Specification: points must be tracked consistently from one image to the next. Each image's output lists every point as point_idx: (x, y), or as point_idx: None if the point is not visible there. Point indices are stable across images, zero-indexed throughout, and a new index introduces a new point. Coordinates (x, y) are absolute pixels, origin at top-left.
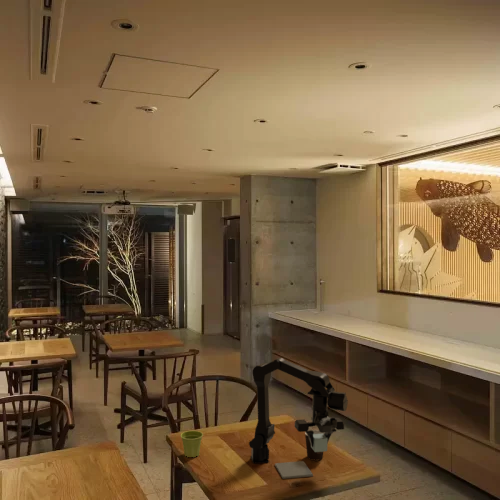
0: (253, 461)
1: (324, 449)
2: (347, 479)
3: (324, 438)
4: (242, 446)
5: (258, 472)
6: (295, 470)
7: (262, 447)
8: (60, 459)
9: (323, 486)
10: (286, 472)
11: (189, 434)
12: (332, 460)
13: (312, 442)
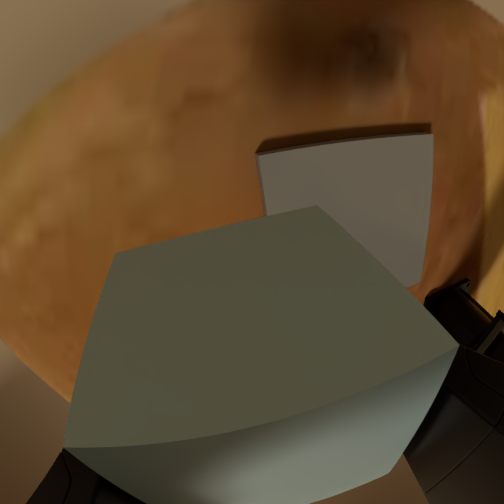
0: (468, 288)
1: (157, 256)
2: (24, 130)
3: (155, 448)
4: None
5: (480, 207)
6: (358, 210)
7: (482, 332)
8: None
9: (205, 6)
10: (408, 183)
11: None
12: None
13: None
